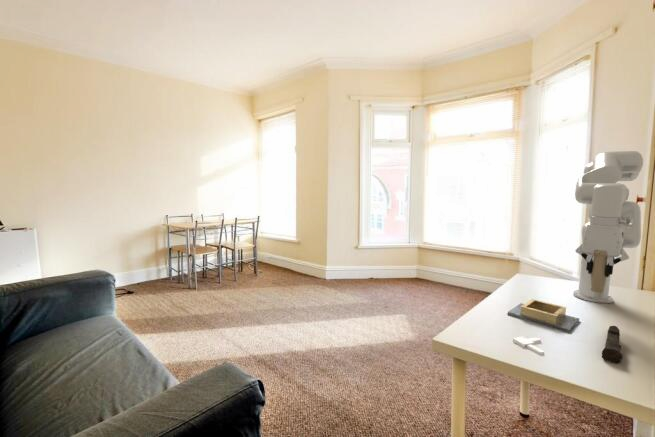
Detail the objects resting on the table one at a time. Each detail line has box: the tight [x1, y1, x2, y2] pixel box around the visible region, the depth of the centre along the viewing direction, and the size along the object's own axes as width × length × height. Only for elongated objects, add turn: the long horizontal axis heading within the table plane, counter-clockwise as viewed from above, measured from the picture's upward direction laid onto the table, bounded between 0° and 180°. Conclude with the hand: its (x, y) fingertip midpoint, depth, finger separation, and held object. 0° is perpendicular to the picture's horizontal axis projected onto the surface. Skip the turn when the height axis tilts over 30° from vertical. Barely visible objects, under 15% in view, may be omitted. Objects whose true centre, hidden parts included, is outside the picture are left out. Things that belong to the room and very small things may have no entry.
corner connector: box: [512, 336, 545, 355], centre depth 92 cm, size 8×8×2 cm
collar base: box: [507, 298, 580, 333], centre depth 111 cm, size 13×18×4 cm
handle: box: [591, 250, 608, 293], centre depth 108 cm, size 5×6×15 cm
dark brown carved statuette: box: [601, 325, 624, 364], centre depth 90 cm, size 19×4×5 cm, turn 135°
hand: (598, 273), depth 108 cm, fingers closed on handle, 3 cm apart
